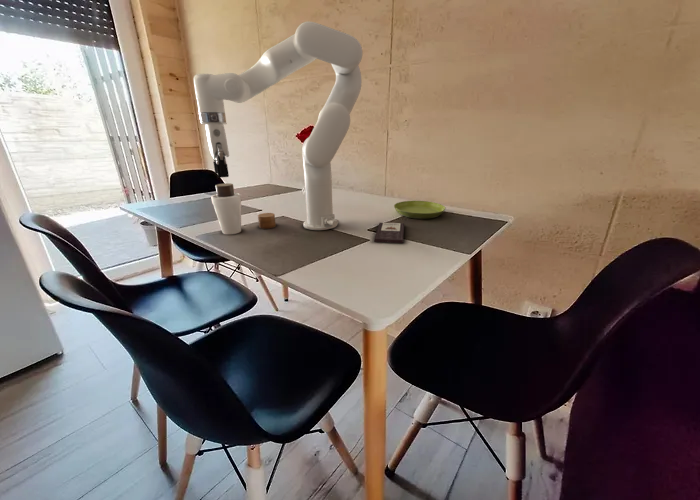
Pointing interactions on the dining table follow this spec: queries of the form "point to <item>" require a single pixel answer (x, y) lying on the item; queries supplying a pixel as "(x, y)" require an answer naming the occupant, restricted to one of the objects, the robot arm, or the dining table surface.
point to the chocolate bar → (390, 233)
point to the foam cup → (228, 212)
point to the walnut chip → (225, 190)
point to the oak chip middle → (266, 217)
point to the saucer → (419, 209)
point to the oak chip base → (267, 225)
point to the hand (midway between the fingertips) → (221, 175)
